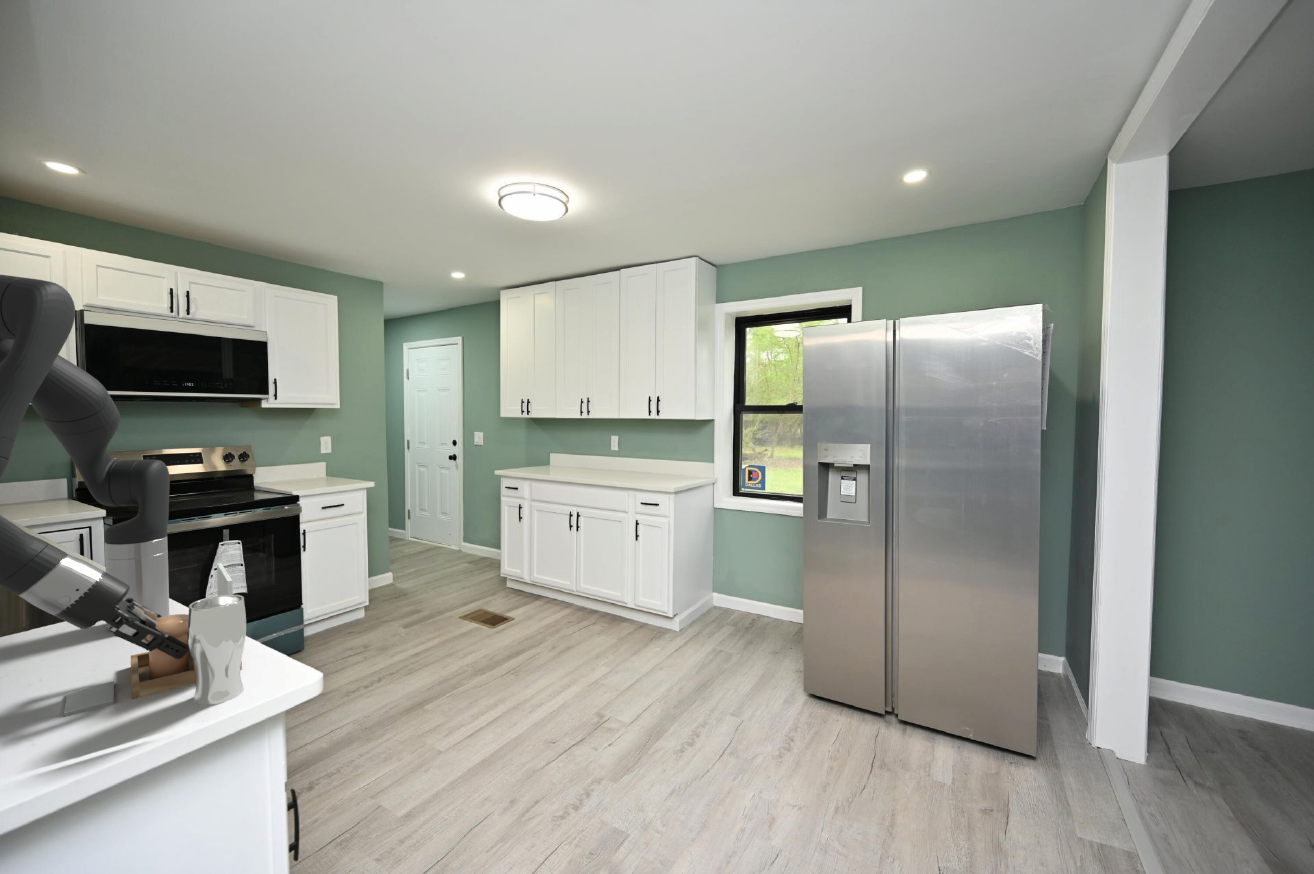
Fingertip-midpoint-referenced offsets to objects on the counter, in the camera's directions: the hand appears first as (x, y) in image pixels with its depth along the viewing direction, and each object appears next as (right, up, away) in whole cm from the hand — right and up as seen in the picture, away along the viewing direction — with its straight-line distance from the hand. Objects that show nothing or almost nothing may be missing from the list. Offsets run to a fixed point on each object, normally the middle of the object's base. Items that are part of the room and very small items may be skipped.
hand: (183, 646), depth 92 cm
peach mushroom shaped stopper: (-1, -4, -1) cm, 5 cm away
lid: (+3, +2, +4) cm, 6 cm away
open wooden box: (0, -5, +1) cm, 5 cm away
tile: (-6, -5, -9) cm, 12 cm away
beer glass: (+11, -5, -7) cm, 14 cm away
